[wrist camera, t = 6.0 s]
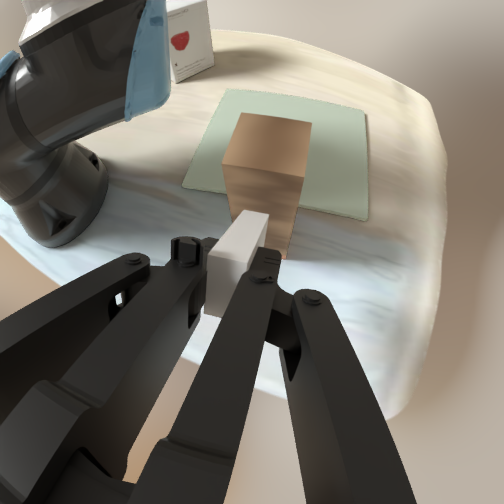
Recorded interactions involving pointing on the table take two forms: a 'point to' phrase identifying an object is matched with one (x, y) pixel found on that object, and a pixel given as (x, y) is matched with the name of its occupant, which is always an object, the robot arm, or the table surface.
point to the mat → (319, 154)
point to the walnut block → (267, 172)
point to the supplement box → (188, 38)
